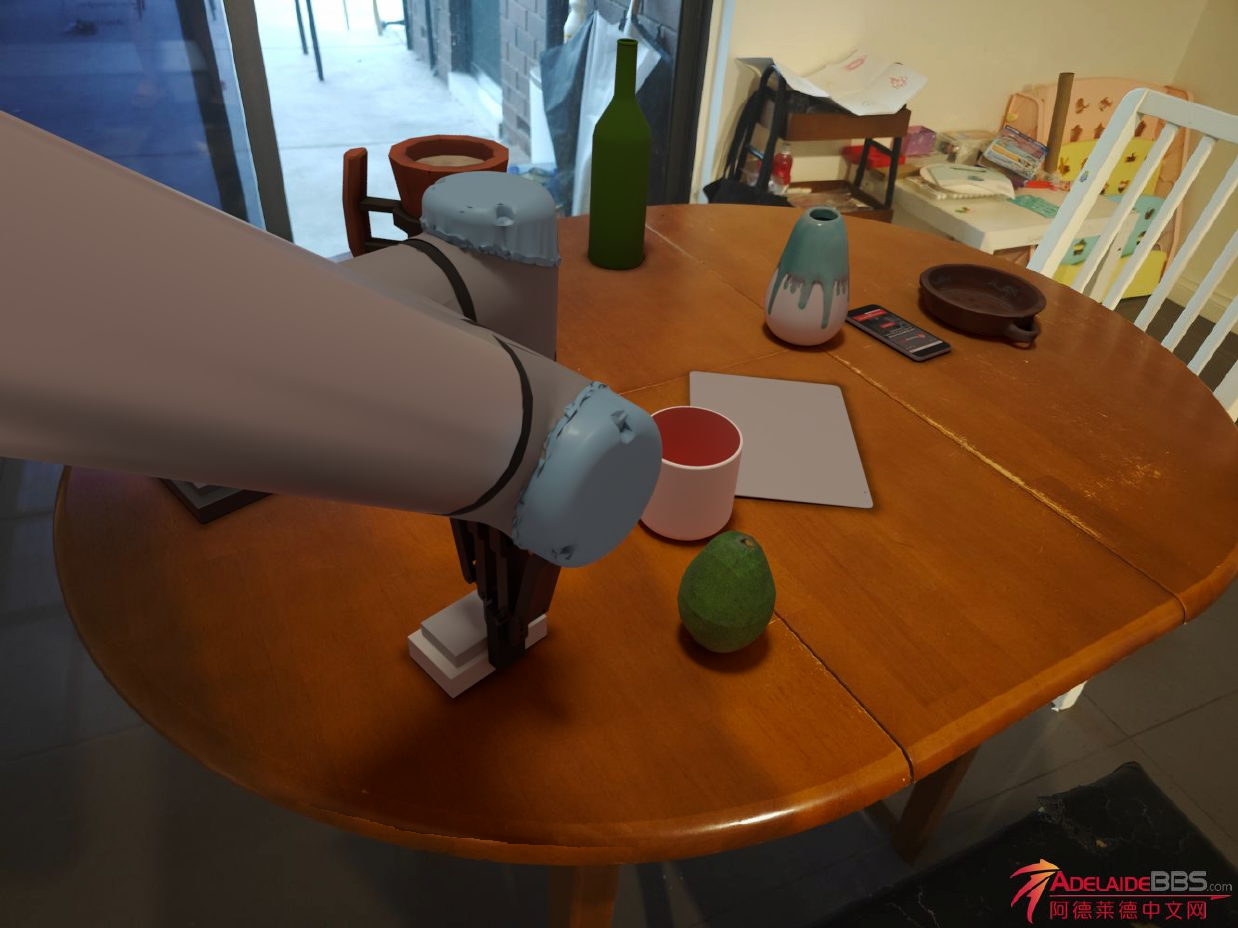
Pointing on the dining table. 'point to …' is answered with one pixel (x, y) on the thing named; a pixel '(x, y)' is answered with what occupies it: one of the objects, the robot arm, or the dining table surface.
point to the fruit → (727, 593)
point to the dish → (983, 300)
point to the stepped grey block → (460, 644)
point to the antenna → (788, 438)
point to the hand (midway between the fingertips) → (507, 658)
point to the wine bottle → (620, 171)
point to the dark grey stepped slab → (211, 498)
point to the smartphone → (897, 332)
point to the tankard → (410, 182)
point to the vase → (811, 280)
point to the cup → (694, 473)
